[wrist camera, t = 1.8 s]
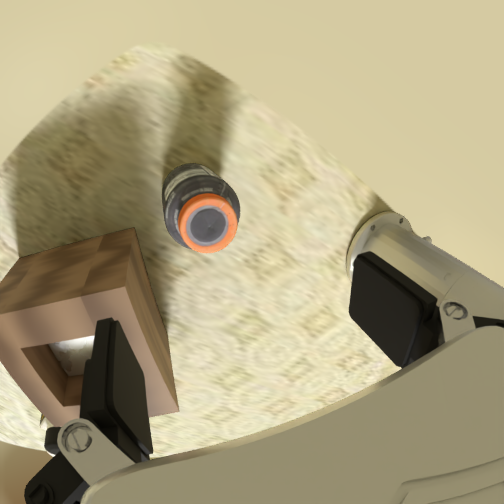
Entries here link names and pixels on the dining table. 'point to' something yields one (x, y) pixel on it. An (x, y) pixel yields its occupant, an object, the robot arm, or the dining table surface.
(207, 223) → the pill bottle
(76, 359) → the plate
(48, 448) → the medicine bottle
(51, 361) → the wooden box holder
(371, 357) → the dining table surface
